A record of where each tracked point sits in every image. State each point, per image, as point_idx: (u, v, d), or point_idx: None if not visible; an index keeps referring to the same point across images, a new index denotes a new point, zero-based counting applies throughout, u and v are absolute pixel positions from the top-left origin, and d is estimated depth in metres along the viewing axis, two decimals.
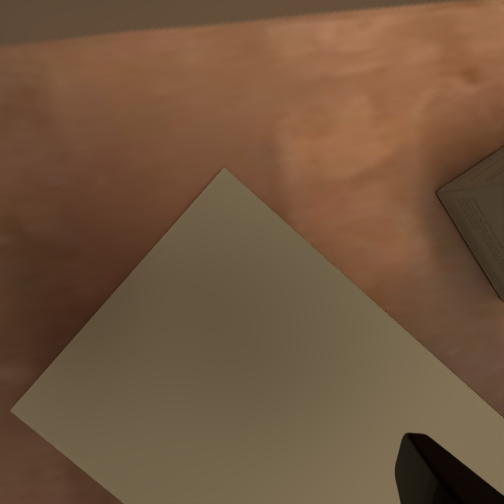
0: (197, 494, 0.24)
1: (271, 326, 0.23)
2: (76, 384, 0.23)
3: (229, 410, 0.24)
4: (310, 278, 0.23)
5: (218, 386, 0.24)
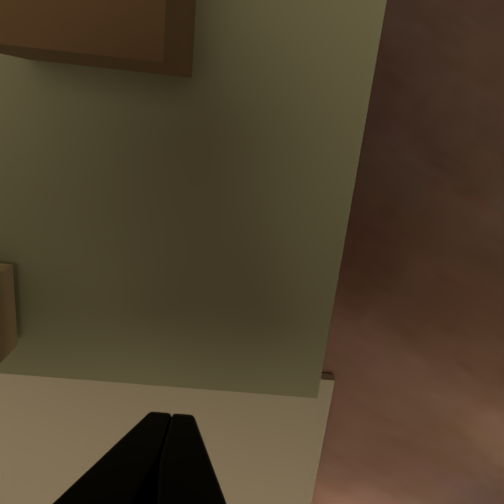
0: None
1: None
2: None
3: None
4: None
5: None
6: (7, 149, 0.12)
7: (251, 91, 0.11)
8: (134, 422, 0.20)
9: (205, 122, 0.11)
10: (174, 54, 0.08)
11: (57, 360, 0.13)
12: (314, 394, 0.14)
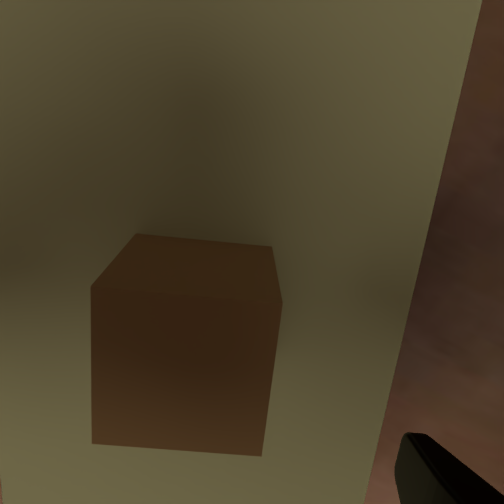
0: None
1: None
2: None
3: None
4: None
5: None
6: None
7: (302, 372, 0.15)
8: None
9: None
10: None
11: None
12: None
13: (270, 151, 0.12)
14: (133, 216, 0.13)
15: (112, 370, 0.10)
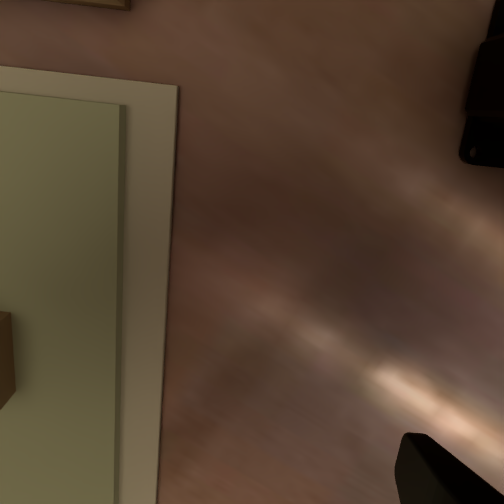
0: None
1: None
2: None
3: None
4: None
5: None
6: None
7: (49, 397, 0.21)
8: None
9: (26, 410, 0.21)
10: None
11: None
12: None
13: None
14: None
15: None
